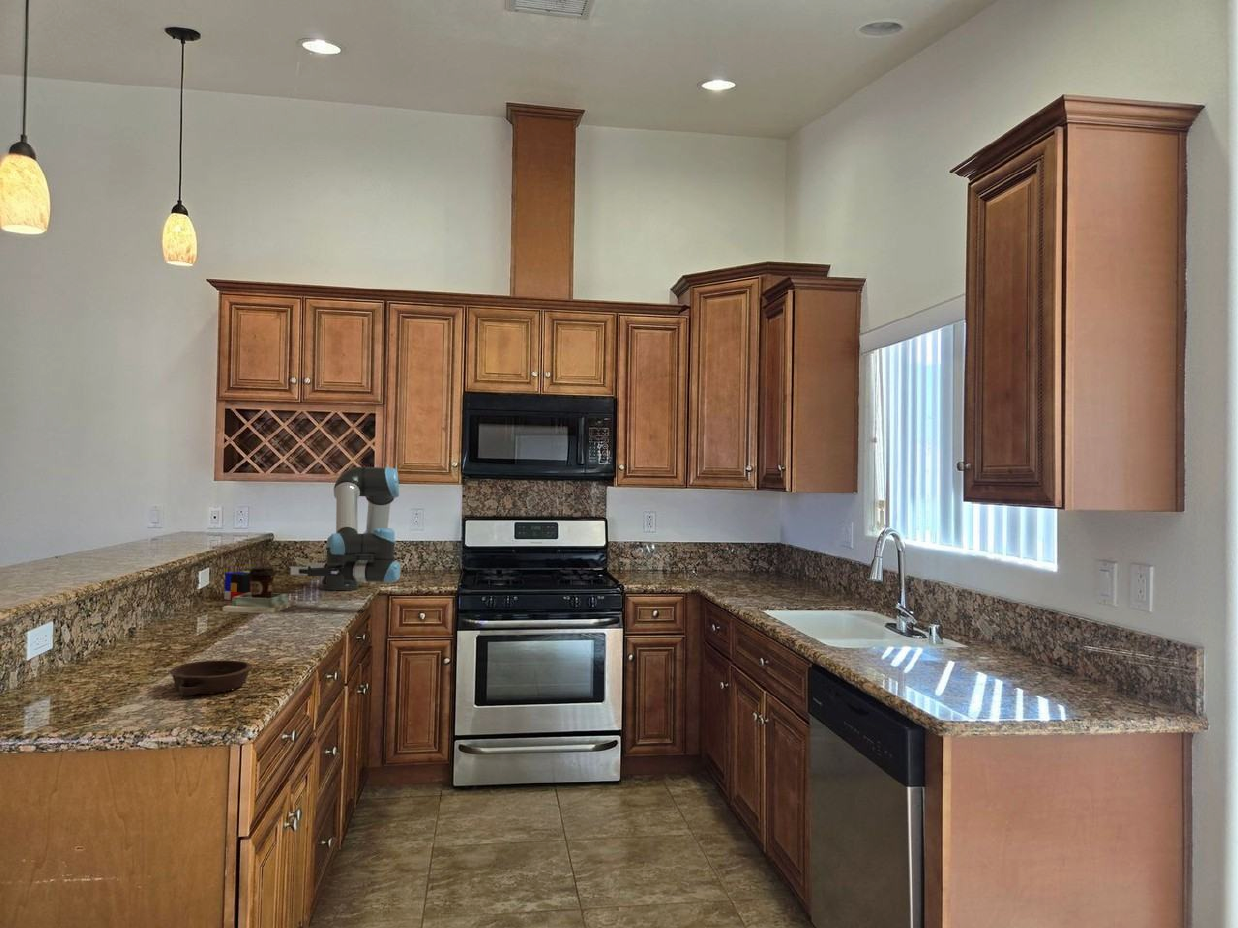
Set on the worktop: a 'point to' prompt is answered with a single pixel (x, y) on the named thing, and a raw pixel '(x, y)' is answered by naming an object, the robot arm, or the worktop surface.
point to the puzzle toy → (237, 584)
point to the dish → (209, 676)
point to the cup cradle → (259, 603)
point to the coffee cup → (261, 582)
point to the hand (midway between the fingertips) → (298, 568)
